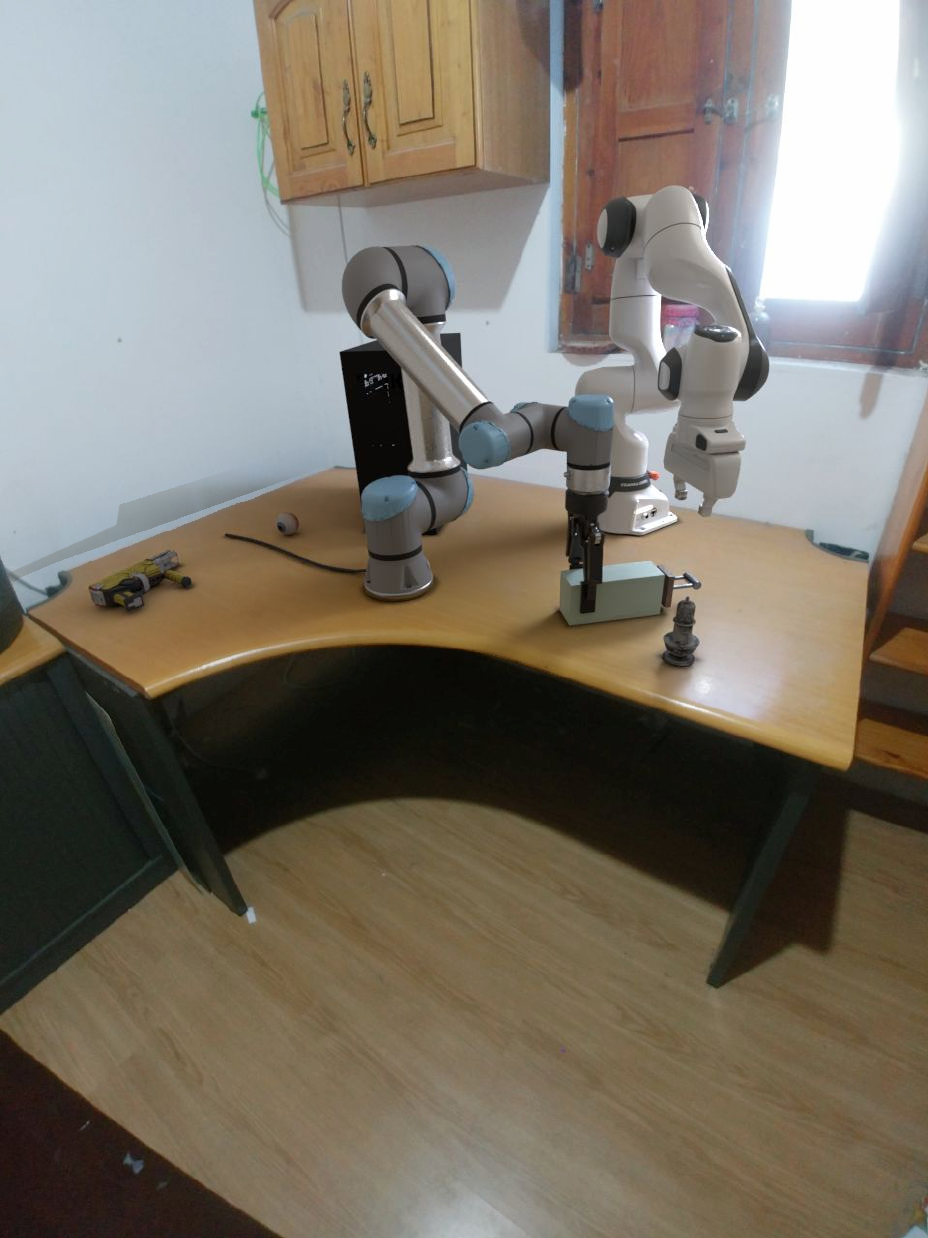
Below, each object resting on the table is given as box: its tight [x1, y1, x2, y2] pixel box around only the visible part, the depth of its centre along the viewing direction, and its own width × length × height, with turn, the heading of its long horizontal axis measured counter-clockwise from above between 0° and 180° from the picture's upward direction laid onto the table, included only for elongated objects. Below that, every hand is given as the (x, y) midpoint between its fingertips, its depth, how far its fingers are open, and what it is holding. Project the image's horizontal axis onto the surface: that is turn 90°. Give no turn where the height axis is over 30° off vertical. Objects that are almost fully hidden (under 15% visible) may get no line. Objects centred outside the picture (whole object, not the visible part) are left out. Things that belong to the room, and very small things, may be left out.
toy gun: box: [87, 549, 193, 614], centre depth 138 cm, size 5×24×15 cm
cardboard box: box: [339, 332, 468, 535], centre depth 166 cm, size 38×20×45 cm, turn 167°
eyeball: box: [275, 511, 300, 536], centre depth 163 cm, size 6×6×6 cm
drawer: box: [656, 564, 702, 609], centre depth 118 cm, size 23×6×7 cm, turn 99°
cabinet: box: [558, 560, 665, 626], centre depth 118 cm, size 18×7×9 cm, turn 99°
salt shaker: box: [662, 595, 700, 667], centre depth 102 cm, size 6×6×12 cm
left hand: (581, 602), depth 118 cm, fingers closed on cabinet, 7 cm apart
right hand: (691, 507), depth 111 cm, fingers open, 8 cm apart
